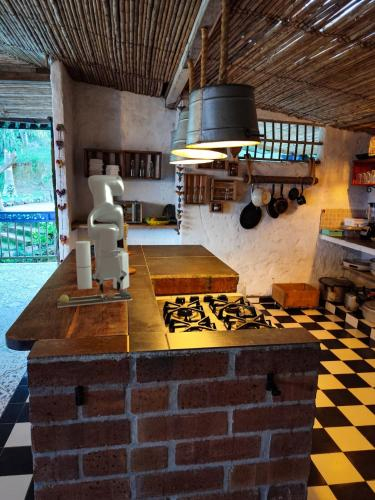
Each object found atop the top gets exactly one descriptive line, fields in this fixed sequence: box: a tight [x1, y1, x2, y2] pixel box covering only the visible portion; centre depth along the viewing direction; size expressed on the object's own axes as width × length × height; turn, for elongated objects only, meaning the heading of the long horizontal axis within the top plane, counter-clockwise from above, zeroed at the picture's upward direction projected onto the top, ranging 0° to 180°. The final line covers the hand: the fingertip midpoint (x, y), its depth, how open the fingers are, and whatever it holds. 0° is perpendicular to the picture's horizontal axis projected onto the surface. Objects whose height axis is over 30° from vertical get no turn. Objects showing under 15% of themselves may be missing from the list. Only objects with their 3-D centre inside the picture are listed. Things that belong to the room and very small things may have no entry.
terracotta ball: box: [105, 290, 116, 298], centre depth 164 cm, size 4×4×4 cm
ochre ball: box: [59, 294, 70, 303], centre depth 158 cm, size 4×4×4 cm
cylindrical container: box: [74, 240, 93, 290], centre depth 181 cm, size 7×7×25 cm
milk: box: [112, 247, 130, 290], centre depth 182 cm, size 6×6×22 cm
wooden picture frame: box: [56, 294, 103, 307], centre depth 160 cm, size 6×20×1 cm, turn 109°
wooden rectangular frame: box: [102, 292, 132, 303], centre depth 166 cm, size 6×12×1 cm, turn 109°
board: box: [56, 292, 133, 309], centre depth 164 cm, size 12×33×2 cm, turn 109°
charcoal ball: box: [119, 288, 129, 297], centre depth 166 cm, size 4×4×4 cm
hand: (110, 290), depth 164 cm, fingers open, 6 cm apart
